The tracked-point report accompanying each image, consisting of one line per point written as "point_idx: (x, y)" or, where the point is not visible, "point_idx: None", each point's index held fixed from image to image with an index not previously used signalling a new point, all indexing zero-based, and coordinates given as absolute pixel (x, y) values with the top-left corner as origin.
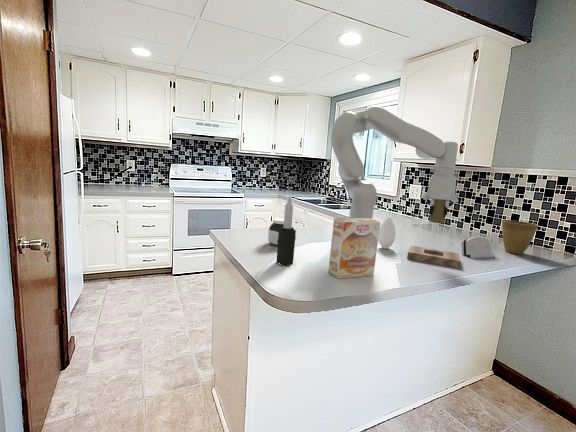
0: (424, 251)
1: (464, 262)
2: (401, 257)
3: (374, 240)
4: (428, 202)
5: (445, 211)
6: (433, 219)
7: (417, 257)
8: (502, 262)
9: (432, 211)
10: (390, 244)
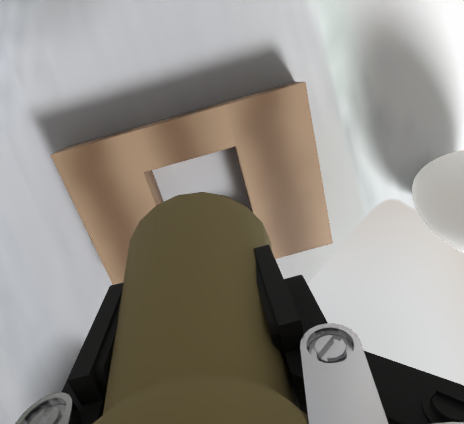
0: None
1: (92, 269)
2: (323, 79)
3: None
4: (411, 379)
5: (90, 333)
6: (221, 210)
7: (251, 95)
8: (4, 399)
9: (264, 272)
10: (421, 172)
